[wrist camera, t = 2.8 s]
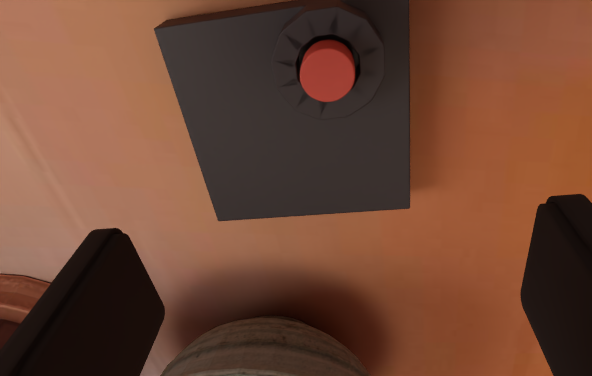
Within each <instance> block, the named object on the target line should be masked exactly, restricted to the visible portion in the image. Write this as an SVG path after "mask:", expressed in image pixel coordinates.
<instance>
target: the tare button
mask: <svg viewBox="0 0 592 376" xmlns="http://www.w3.org/2000/svg"><path fill="white" fill-rule="evenodd" d="M300 81H301V85H302V87H303V89H304V90H305V92H306V93H307V94H308V95H309V96H311V97H312V98H314V99H316V100H318V101H322V102H332V101H336V100H339V99H341V98H342V97H344V96H345V95H346V94H347V93H348V92H349V91H350V90H351V88H352V86H353V84H354V81H355V63H354V58H353V55H352V53H351V51H350V50H349V49H348V47H347V46H345V45H344V44H343V43H341V42H339V41H336V40H330V39H328V40H321V41H318V42H316V43H315V44H313V45H312V46H311V47H310V48H309V49H308V50H307V51H306V53H305V55H304V57H303V61H302V65H301V69H300Z"/></svg>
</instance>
